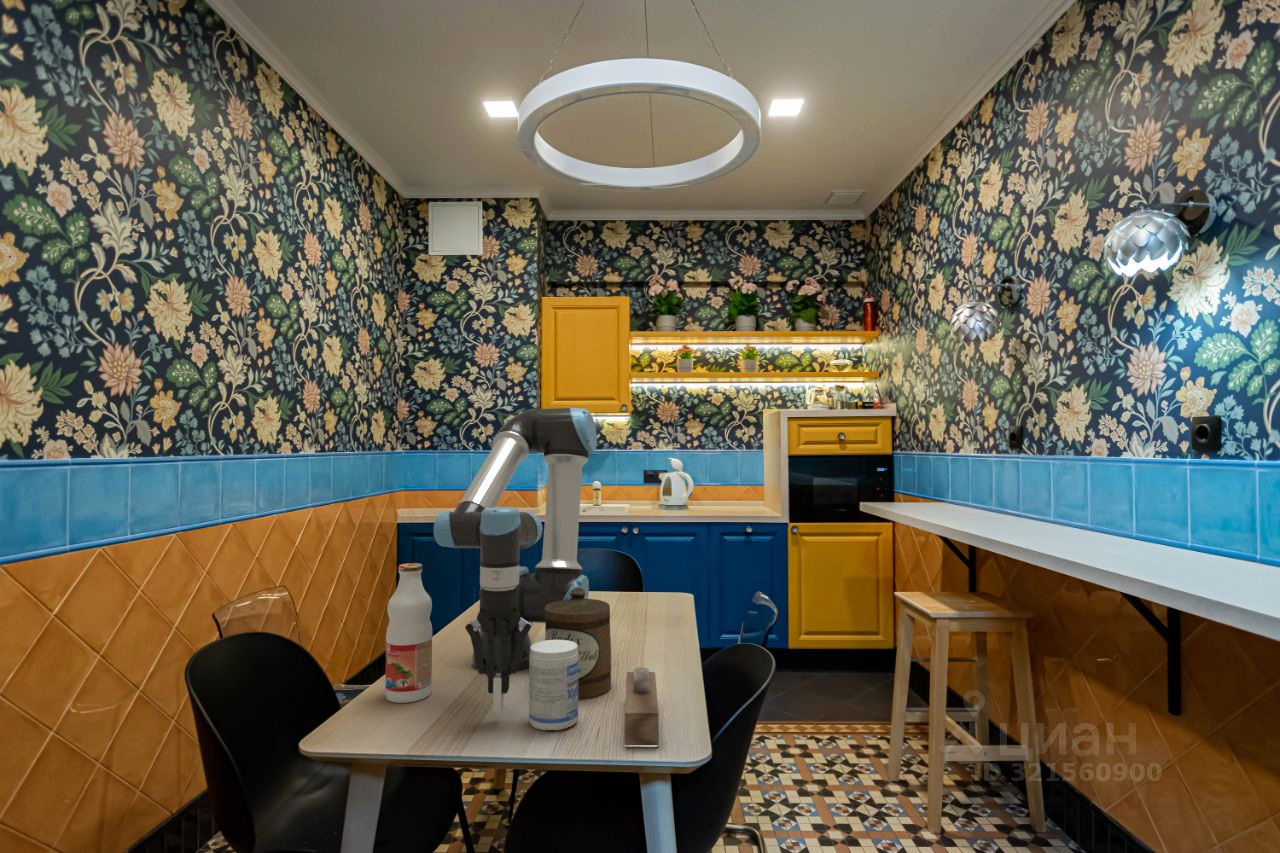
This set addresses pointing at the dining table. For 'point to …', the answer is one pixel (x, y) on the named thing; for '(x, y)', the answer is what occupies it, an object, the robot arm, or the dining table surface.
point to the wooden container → (584, 638)
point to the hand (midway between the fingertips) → (498, 709)
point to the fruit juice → (409, 639)
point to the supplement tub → (553, 684)
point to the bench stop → (641, 708)
